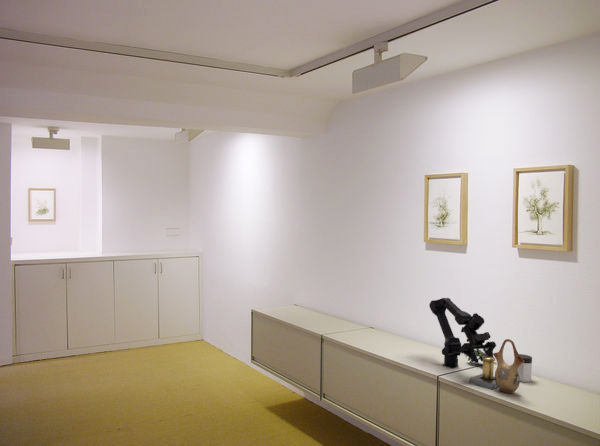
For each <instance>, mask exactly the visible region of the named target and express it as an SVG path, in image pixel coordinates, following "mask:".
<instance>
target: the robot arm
mask: <svg viewBox="0 0 600 446" xmlns="http://www.w3.org/2000/svg"><path fill="white" fill-rule="evenodd" d="M429 309H430V310H431V312H432V314H433V315H434V316H436V318H437V321H438V324H439V327H440V329H441V332H442V334H443V337H444V343H443V344H444V347H443V348H442V349H441V354H442V355H444V358H443V359H444V360H443V364H442V367H446V368H450V369H454V368H458V367H460V365H459V359H458V358H459V357H458V356H461V354H464V355H465V356H466V355H467V357H468V358H469V357H470V358H471V359H472V360H474V361H475V362H476V364H479V363H480V362H479V360H478V356H477V357H476V355H475V352H474V350H476V349H479V350H483V349H484V351H486V352H484V351H483V352H484V353H485V354H486V355H487V356H491V357H494V355H493V353H494V349H496V347H497V343H496V342H495V341H489V340H490V339H491V334H490V332H489V331H488V332H487V331H486V332H484V333H478V330H480V328H481V327H482V326H483V325H484V323H485V319H484V317H482V316H481V315H479V314H478V313H477V312H476V313H473V314H472V315H471V314H470V313H469V312H466V311H464V310H461V308H460V307H458V305H456V304H455V303H454V302H453V301H452V300H451V298H450V297H442V298H440V299H436V300H431V301H430V302H429ZM446 310H448V312H449V313H451V314H452V316H453V317H454V321H455V322H456V323H457V324H458V325H459V326H462V327H461V330H460V332H461V333H464V334H465V336H466V342H464V343H463V344H462V343H461V340H460V338H459V337H455V336H454V332H453V329H452V328H451V325H450V323H449V320H448V317H447V314H446ZM485 341H487V342H485ZM484 343H485V344H484ZM471 359H470V360H471Z"/></svg>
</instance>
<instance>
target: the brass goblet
mask: <svg viewBox="0 0 600 446" xmlns="http://www.w3.org/2000/svg"><path fill="white" fill-rule="evenodd" d="M482 359H483V361H482V373H481V374H482V379H483V380H486V381H493V377H494V369H495V368H494V367H495V361H496V358H495V356H493V357H491V356H482Z"/></svg>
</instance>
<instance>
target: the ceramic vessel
mask: <svg viewBox="0 0 600 446" xmlns="http://www.w3.org/2000/svg"><path fill="white" fill-rule="evenodd" d="M507 342H509V343H511V345H512V350H513V357H514V361H513V362H512V364H511V365H510V364H507V363H506V362H505V360H504V355H503V353H504V349H505V346H506V343H507ZM515 345H516V344H515V342H514V341H513V340H512V339H510V338H507V339H504V341H503V342H502V344H501V347H500V348H499V351H498V352H493V357H494V358H495V361H496V364H497V367H496V370H495V372H494V377H495V382H496V385H497V386H498V389H499V390H500V391H501V392H502V393H506V394H513V393H514V392H516V391H518V389H519V387H520V382H521V381H520V376H519V373H518V368H519V366H520V365H521V364H523V363H524V360H523V359H522V358H521V357H520V355H519V354H520V353H518V350H517V348H516V346H515Z"/></svg>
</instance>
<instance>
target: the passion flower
mask: <svg viewBox="0 0 600 446" xmlns="http://www.w3.org/2000/svg"><path fill="white" fill-rule="evenodd" d="M474 352H475V355H476V357H477V359H478V361H479V360H480V361H481V362H483V359H482V356H487V355H486V354H485V352H486V351H484V349H474ZM467 357H468V356H467V355H465V358H467ZM467 361H469V363H473V365H472V366H473V367H474V366H475V365H476V364H477V363H476V362H475V361H474V360H472V359H471V358H470V357H468V358H467Z"/></svg>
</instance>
